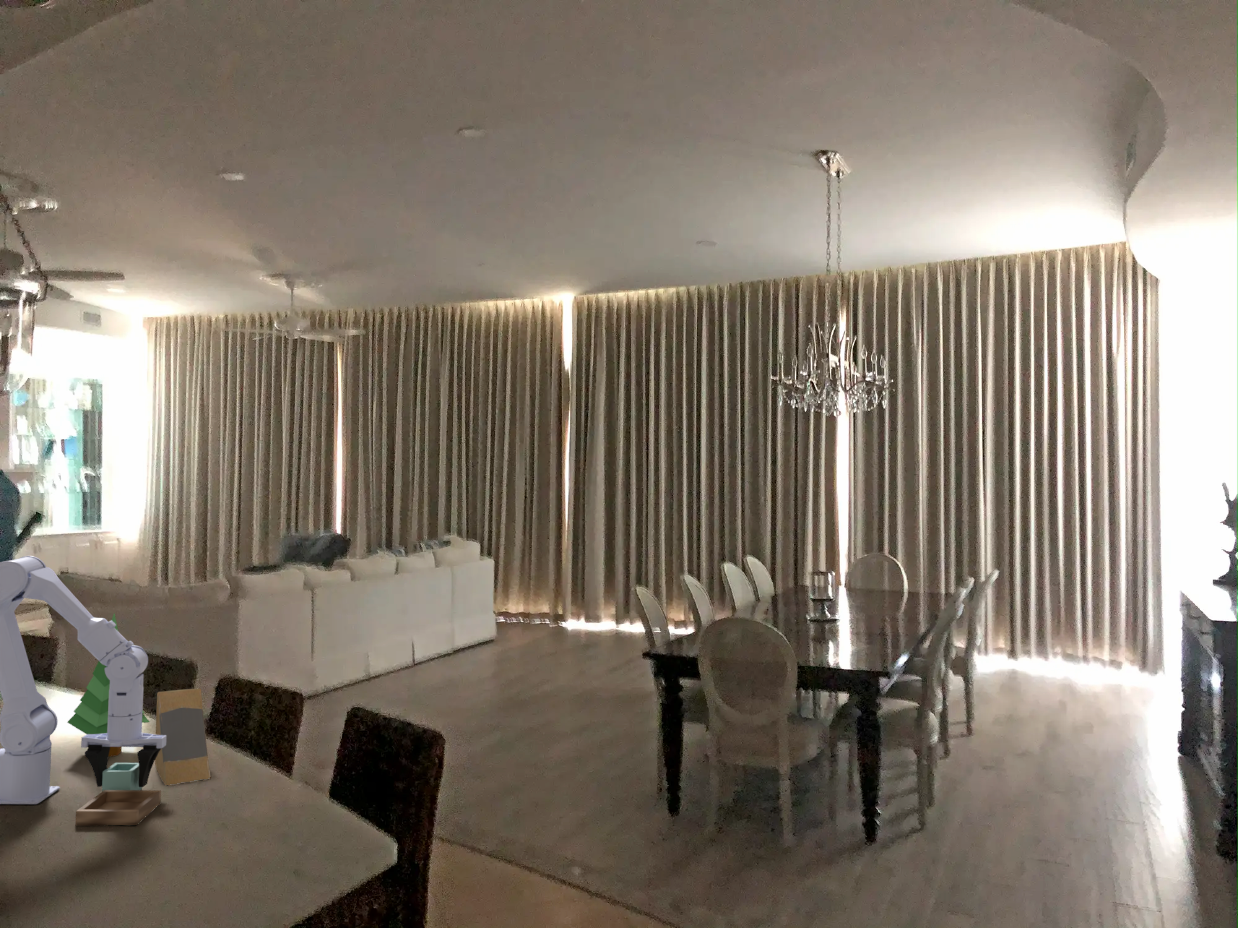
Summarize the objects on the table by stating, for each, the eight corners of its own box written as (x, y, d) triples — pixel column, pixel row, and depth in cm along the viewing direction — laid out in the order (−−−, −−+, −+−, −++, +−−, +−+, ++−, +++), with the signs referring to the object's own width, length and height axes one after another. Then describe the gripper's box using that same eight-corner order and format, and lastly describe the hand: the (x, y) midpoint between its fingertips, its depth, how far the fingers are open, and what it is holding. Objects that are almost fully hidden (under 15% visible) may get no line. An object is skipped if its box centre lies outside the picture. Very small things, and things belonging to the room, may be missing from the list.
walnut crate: (75, 825, 154) (76, 810, 154) (103, 803, 164) (104, 789, 164) (136, 825, 155) (136, 811, 155) (160, 803, 165) (161, 790, 165)
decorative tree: (107, 768, 181) (113, 620, 182) (51, 757, 187) (58, 613, 187) (162, 750, 194) (168, 611, 194) (109, 739, 200) (114, 605, 200)
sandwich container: (164, 787, 173) (167, 709, 173) (153, 763, 186) (156, 691, 186) (212, 780, 178) (215, 704, 178) (198, 757, 191) (201, 687, 191)
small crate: (101, 798, 166) (102, 771, 166) (114, 788, 171) (115, 762, 171) (129, 798, 166) (130, 771, 166) (141, 788, 171) (142, 762, 171)
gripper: (74, 718, 164) (70, 792, 164) (156, 719, 165) (153, 792, 165) (93, 707, 171) (90, 778, 171) (172, 708, 172) (169, 779, 172)
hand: (122, 784), depth 169 cm, fingers open, 7 cm apart
